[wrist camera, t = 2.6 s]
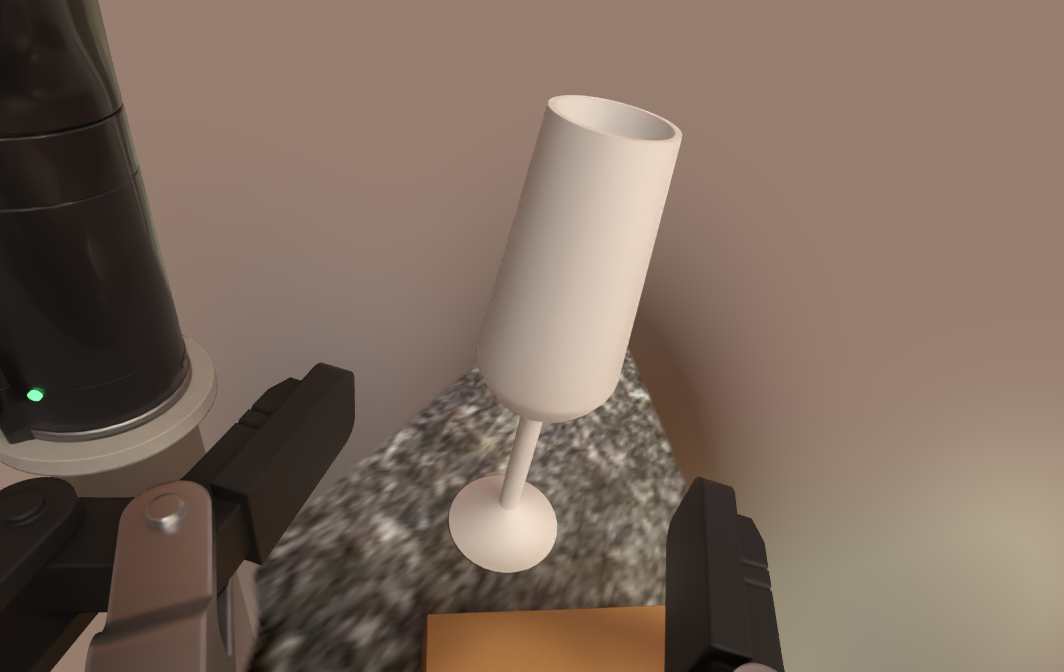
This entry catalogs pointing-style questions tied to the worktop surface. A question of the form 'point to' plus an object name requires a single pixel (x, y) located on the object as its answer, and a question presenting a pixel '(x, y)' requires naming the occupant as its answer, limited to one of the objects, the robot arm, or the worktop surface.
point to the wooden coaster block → (546, 641)
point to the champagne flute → (564, 303)
